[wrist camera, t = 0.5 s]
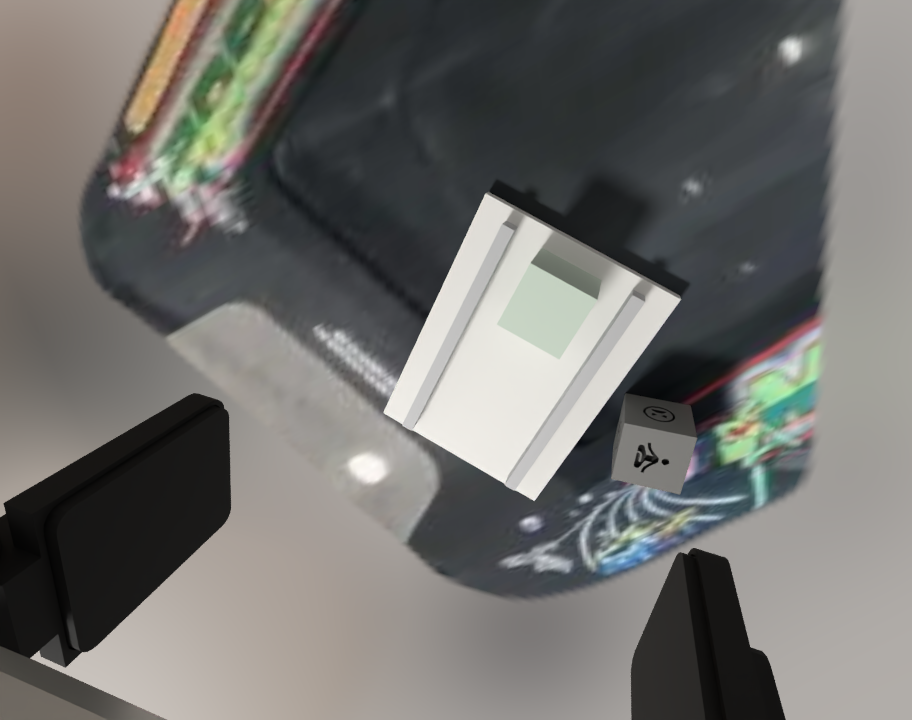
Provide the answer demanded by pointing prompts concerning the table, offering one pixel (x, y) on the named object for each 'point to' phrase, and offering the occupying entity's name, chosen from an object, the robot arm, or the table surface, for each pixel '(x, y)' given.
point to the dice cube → (653, 443)
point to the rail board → (524, 346)
